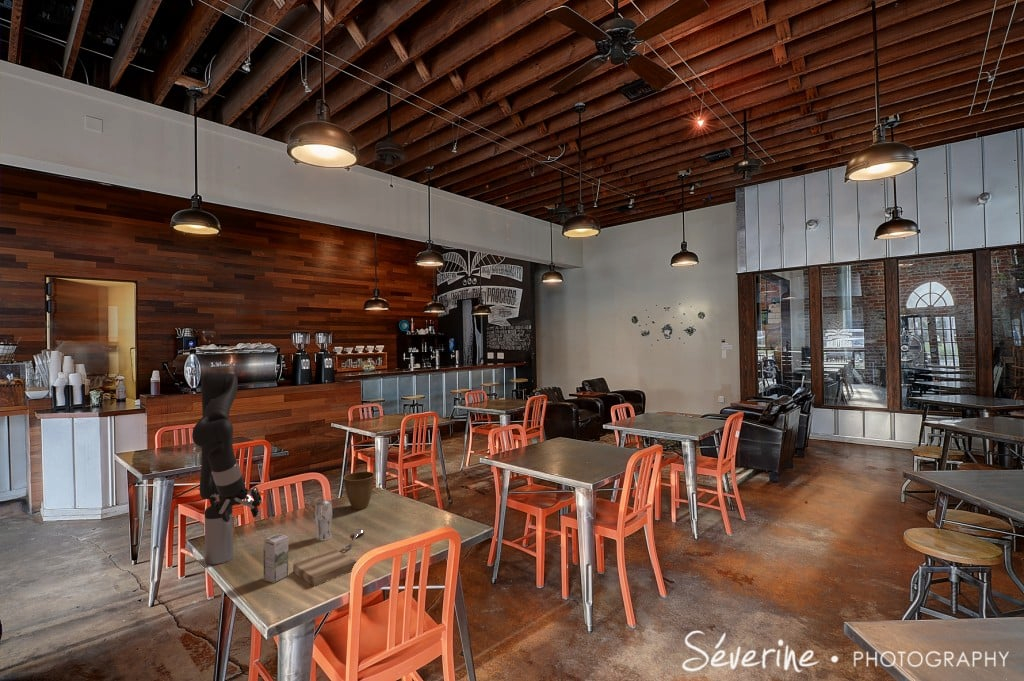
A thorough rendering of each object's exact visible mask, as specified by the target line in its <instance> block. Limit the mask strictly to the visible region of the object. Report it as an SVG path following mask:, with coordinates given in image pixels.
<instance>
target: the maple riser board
mask: <svg viewBox="0 0 1024 681" xmlns="http://www.w3.org/2000/svg"><path fill="white" fill-rule="evenodd" d="M356 562H358V561H357V560H356V559H353V558H352V557H350V556H348V555H346V554H345V553H343V552H341V551H339V550H337V549H335V548H334V549H329V550H328V551H325V552H322V553H319V554H317V555H313V556H311V557H307V558H305V559H302V560H300V561H297V562H294V563H292V570H293V571H292V572H293V573H294V574H295V575H297V576H298V577H300V578H301V579H303V580H304V581H305V582H307V583H309V584H310V585H312V586H313V587H314V586H315V587H316V585H317V586H319V585H318V584H320V585H321V583H322V584H324V583H326V582H325V581H327V580H329V581H331V580H330V579H332V578H334V579H336V578H335V577H337V576H339V577H341V576H340V575H342V574H344V575H346V574H345V573H347V574H349V573H352V572H351V570H352V568H353V566H354V564H355V563H356ZM342 576H343V575H342ZM337 578H338V577H337ZM332 580H333V579H332ZM323 582H324V583H323ZM327 582H328V581H327Z"/></svg>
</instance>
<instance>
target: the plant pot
mask: <svg viewBox="0 0 1024 681" xmlns="http://www.w3.org/2000/svg"><path fill="white" fill-rule="evenodd" d="M343 483H344V488H345V489H344V490H345V492H346V495H347V499H348V501H349V503H350V506H351V509H352V510H355V511H360V510H364V509H365V510H366V508H368V506H369V504H370V501H371V497H372V492H373V488H374V483H375V473H374V472H372V471H356V472H352V473H347V474H346V475H344V476H343Z"/></svg>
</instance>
